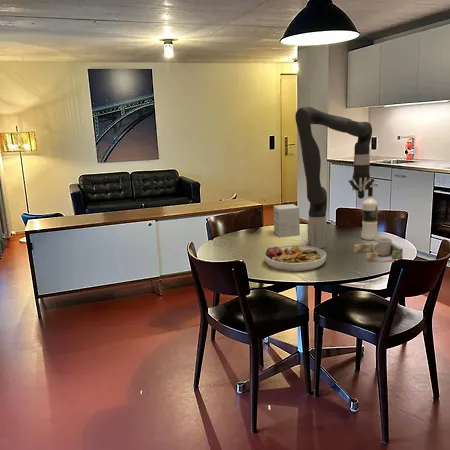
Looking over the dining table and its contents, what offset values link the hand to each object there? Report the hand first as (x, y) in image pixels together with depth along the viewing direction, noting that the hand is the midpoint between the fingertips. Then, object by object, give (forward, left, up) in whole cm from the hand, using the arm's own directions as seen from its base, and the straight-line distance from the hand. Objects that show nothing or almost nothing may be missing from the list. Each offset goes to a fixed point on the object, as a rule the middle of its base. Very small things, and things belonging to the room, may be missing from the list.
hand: (361, 198), depth 218 cm
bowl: (-36, -5, -30) cm, 47 cm away
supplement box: (-25, +52, -29) cm, 65 cm away
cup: (+9, -5, -29) cm, 31 cm away
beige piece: (+6, -5, -29) cm, 30 cm away
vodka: (+17, +26, -29) cm, 43 cm away
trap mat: (+7, -15, -29) cm, 33 cm away
